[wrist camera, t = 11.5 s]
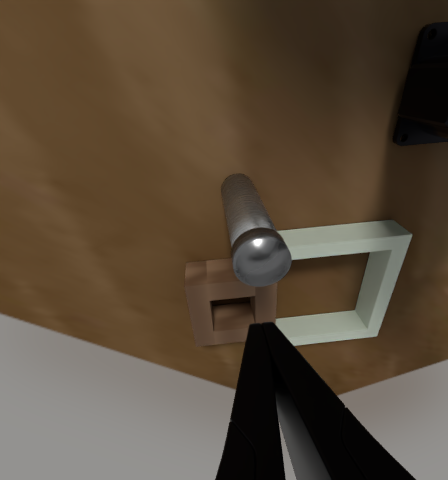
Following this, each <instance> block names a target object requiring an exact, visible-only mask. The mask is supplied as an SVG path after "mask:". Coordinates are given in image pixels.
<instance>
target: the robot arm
mask: <svg viewBox="0 0 448 480" xmlns="http://www.w3.org/2000/svg"><path fill="white" fill-rule="evenodd" d="M430 30H431V32H432V35H431V37H430V38H429V39H428V33H429V31H430ZM398 114H399V116H398V120H397V124H396V128H395V132H394V136H393V142H394V143H395V144H397V145H400V146H405V145H416V144H427V143H438V142H448V22H439V23H432V24H428V25H426V26H425V27H423V28H422V30H421V31H420V33H419V36H418V40H417V44H416V48H415V52H414V56H413V60H412V64H411V68H410V69H409V72H408V76H407V80H406V84H405V88H404V92H403V96H402V100H401V104H400V108H399V112H398ZM403 134H404V138H403V139H402V140H400V138H401V136H402V135H403ZM278 419H279V421H278ZM279 422H280V425H281V429H282V432H283V435H284V439H285V442H286V446H287V449H288V452H289V455H290V459H291V462H292V465H293V469H294V472H295V476H296V479H297V480H416V479H415V478H414V477H413V476H412V475H411V474H410V473H409V472H408V471H407V470H406V469H405V468H404V467H403V466H402V465H401V464H400V463H399V462H397V461H396V460H395V459H394V458H393V457H392V456H391V455H390V454H389V453H388V452H387V451H386V450H385V449H384V448H383V447H382V445H380V443H379V442H378V441H376V439H375V438H373V436H372V435H371V434H370V433H369V432H368V431H367V430H366V429H365V427H364V426H363V425H362V424H361V423H360V422H359V421H358V420H357V419H356V417H355V416H354V415H353V414H352V413H351V412H350V410H349V409H348V408H345V405H344V404H343V403H342V401H341V400H340V399H339V398H338V397H337V395H336V394H335V393H334V392H333V391H332V390H331V388H330V387H329V386H328V385H327V384H326V383H325V381H324V380H323V379H322V378H321V377H320V376H319V375H318V373H317V372H316V371H315V370H314V369H313V368H312V366H311V365H310V364H309V363H308V362H307V361H306V359H305V358H304V357H303V356H302V355H301V354H300V352H299V351H298V350H297V349H296V348H295V347H294V345H293V344H292V343H291V342H290V341H289V340H288V338H287V337H286V336H285V335H284V334H283V333H282V331H281V330H280V329H279V328H278V327H277V326H276V325H275V323H274V322H263V323H252V324H250V325H249V328H248V333H247V338H246V343H245V348H244V353H243V358H242V363H241V368H240V373H239V378H238V383H237V388H236V393H235V399H234V403H233V408H232V413H231V418H230V423H229V427H228V432H227V437H226V441H225V446H224V450H223V454H222V459H221V462H220V465H219V469H218V472H217V475H216V479H215V480H286V479H285V471H284V463H283V454H282V446H281V438H280V430H279Z"/></svg>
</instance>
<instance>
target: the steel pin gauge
mask: <svg viewBox="0 0 448 480" xmlns="http://www.w3.org/2000/svg"><path fill="white" fill-rule="evenodd" d="M221 194H222V200H223V205H224V210H225V215H226V220H227V226H228V231H229V236H230V241H231V247H232V248H231V258H232V264H233V269H234V273H235V275H236V277H237V278H238V279H239V280H240V281H241V282H243V283H245V284H247V285H250V286H255V287H262V286H268V285H271V284H274V283H276V282H277V281H279V280H280V279H282V278H283V277H284V276H285V275H286V274H287V272H288V271H289V269H290V266H291V262H292V257H291V253H290V251H289V249H288V247H287V245H286V243H285V241H284V239H283V238H282V236H281V235H280V234H279V233H278V232H277V230H276V228H275V226H274V224H273V222H272V220H271V218H270V216H269V214H268V212H267V210H266V208H265V206H264V204H263V202H262V200H261V198H260V196H259V194H258V192H257V190H256V188H255V186H254V184H253V182H252V180H251V179H250V178H249V177H248V176H246V175H244V174H233V175H230V176H229V177H227V178H226V179H225V180H224V182H223V184H222V186H221Z"/></svg>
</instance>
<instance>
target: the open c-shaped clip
mask: <svg viewBox="0 0 448 480" xmlns="http://www.w3.org/2000/svg"><path fill="white" fill-rule="evenodd" d="M277 232H278V233H279V234H280V235H281V236H282V238H283V239H284V241H285V243H286V245H287V247H288V249H289V251H290V253H291V257H292V260H296V259H306V258H315V257H325V256H335V255H345V254H354V253H364V252H370V254H369V258H368V262H367V266H366V270H365V273H364V277H363V281H362V285H361V289H360V292H359V296H358V300H357V304H356V308H355V310H352V311H343V312H334V313H325V314H316V315H306V316H297V317H288V318H279V319H276V324H275V325H276V326H277V327H278V328H279V329H280V330H281V331H282V333H283V334H284V335H285V336H286V337H287V338H288V340H289V341H290V342H291V343H292V344H293V345H294V346H296V345H305V344H313V343H322V342H331V341H340V340H349V339H358V338H367V337H376V336H377V335H378V332H379V329H380V326H381V323H382V321H383V318H384V315H385V312H386V309H387V306H388V303H389V301H390V298H391V295H392V292H393V289H394V286H395V283H396V281H397V278H398V275H399V272H400V269H401V266H402V263H403V260H404V258H405V255H406V252H407V249H408V246H409V243H410V240H411V238H412V235H413V234H411V233H410V232H409V231H407V230H406V229H405V228H403V227H402V226H401V225H399V224H398V223H397V222H395V221H394V220H383V221H373V222H363V223H353V224H342V225H332V226H322V227H312V228H302V229H292V230H282V231H277Z"/></svg>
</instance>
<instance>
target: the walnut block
mask: <svg viewBox="0 0 448 480" xmlns="http://www.w3.org/2000/svg"><path fill="white" fill-rule="evenodd" d="M184 287H185V292H186V297H187V303H188V308H189V313H190V318H191V323H192V328H193V333H194V339H195V344H196V347H198V346H207V345H216V344H226V343H235V342H244V341H246V338H247V333H248V328H249V325H250V324H252V323H263V322H274V323H275V324H276V303H277V282H276V283H274V284H271V285H268V286H262V287H255V286H250V285H247V284H245V283H243V282H241V281H240V280H239V279H238V278H237V277H236V275H235V273H234V269H233V264H232V258H227V259H217V260H207V261H197V262H187V263H186V271H185V285H184ZM241 297H250V302H244V303H235V304H225V305H216V306H212V301H213V300H222V299H232V298H241Z"/></svg>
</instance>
